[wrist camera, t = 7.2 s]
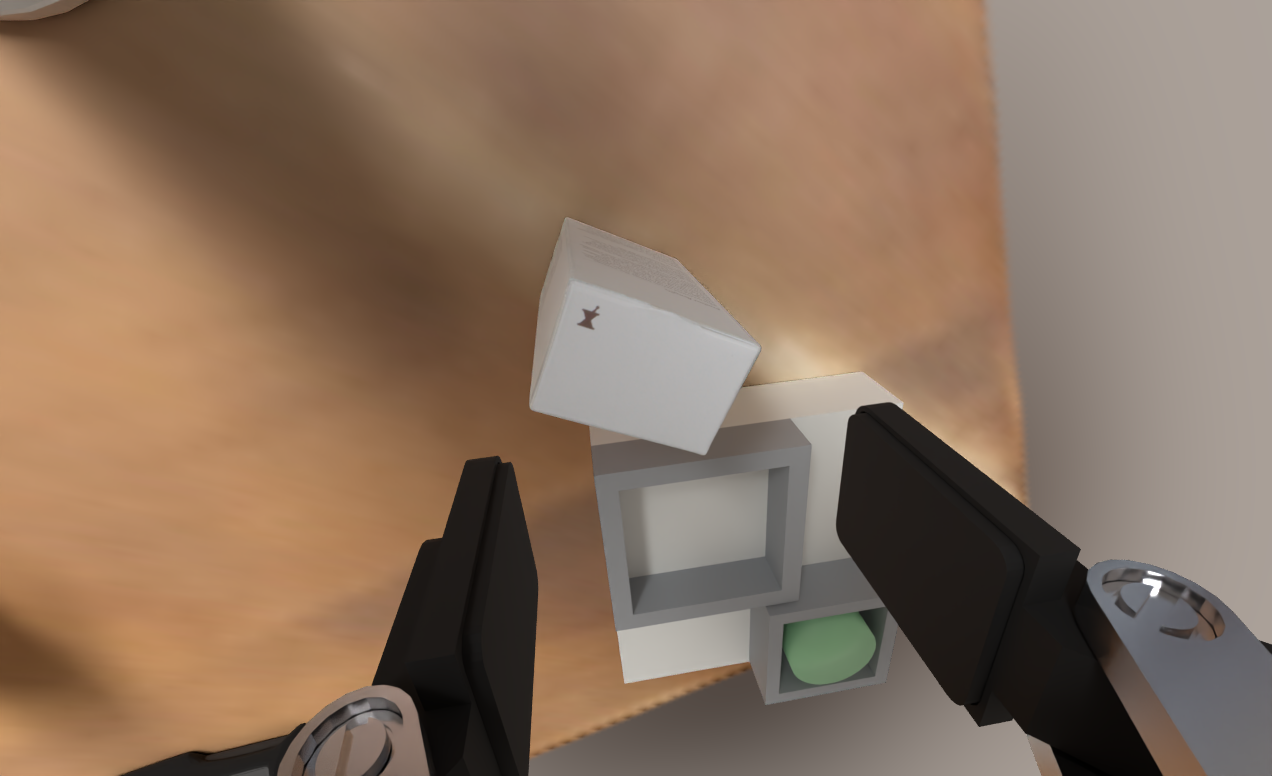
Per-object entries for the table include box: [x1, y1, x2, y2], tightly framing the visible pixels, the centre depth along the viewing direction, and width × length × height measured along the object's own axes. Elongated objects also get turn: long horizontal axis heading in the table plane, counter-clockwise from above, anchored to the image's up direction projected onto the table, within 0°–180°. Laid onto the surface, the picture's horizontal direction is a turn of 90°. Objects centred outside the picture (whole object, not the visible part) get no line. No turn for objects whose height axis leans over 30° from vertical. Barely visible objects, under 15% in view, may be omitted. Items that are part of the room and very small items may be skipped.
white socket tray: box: [589, 372, 903, 705], centre depth 30 cm, size 18×16×7 cm
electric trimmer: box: [122, 723, 306, 776], centre depth 36 cm, size 4×16×3 cm, turn 99°
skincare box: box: [529, 217, 761, 455], centre depth 20 cm, size 6×4×12 cm
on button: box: [782, 611, 876, 685], centre depth 30 cm, size 5×5×3 cm
